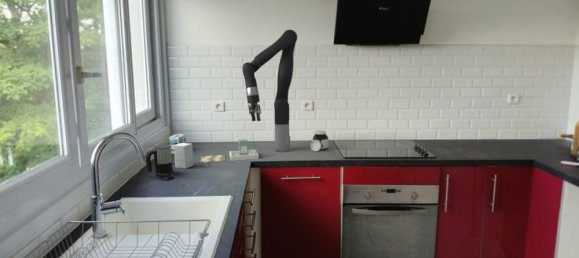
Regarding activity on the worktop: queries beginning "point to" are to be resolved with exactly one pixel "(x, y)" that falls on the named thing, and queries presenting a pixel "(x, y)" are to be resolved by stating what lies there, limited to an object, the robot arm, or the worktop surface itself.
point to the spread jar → (320, 141)
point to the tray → (235, 155)
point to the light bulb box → (176, 140)
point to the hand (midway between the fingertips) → (256, 121)
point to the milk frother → (160, 160)
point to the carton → (243, 147)
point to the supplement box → (183, 155)
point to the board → (212, 158)
